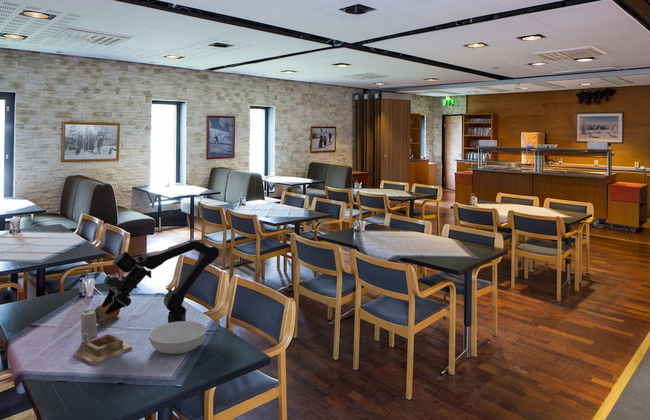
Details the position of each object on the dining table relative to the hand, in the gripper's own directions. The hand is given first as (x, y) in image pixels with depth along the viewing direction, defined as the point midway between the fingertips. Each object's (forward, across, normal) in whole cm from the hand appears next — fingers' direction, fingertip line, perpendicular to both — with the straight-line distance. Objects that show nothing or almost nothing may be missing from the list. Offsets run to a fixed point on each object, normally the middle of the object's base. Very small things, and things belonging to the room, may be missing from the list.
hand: (103, 310), depth 192 cm
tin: (+6, -20, +11) cm, 24 cm away
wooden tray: (+10, +13, +7) cm, 17 cm away
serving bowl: (-8, +22, +25) cm, 34 cm away
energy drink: (+12, 0, +5) cm, 13 cm away
